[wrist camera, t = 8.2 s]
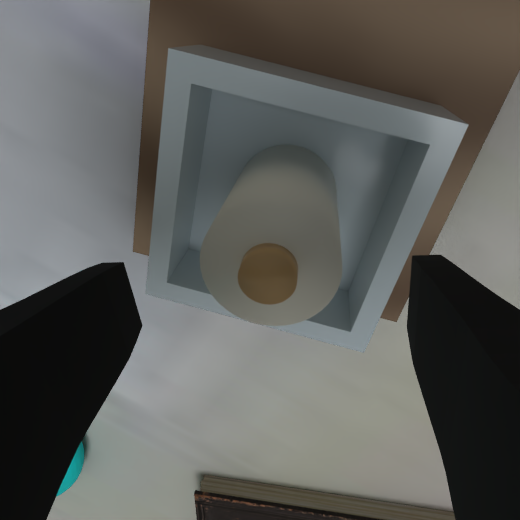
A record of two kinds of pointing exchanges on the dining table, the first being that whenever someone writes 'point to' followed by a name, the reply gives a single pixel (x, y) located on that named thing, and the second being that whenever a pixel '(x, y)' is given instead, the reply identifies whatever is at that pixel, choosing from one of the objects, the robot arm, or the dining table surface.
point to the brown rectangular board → (350, 71)
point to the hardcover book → (295, 504)
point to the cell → (276, 239)
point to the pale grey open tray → (314, 139)
